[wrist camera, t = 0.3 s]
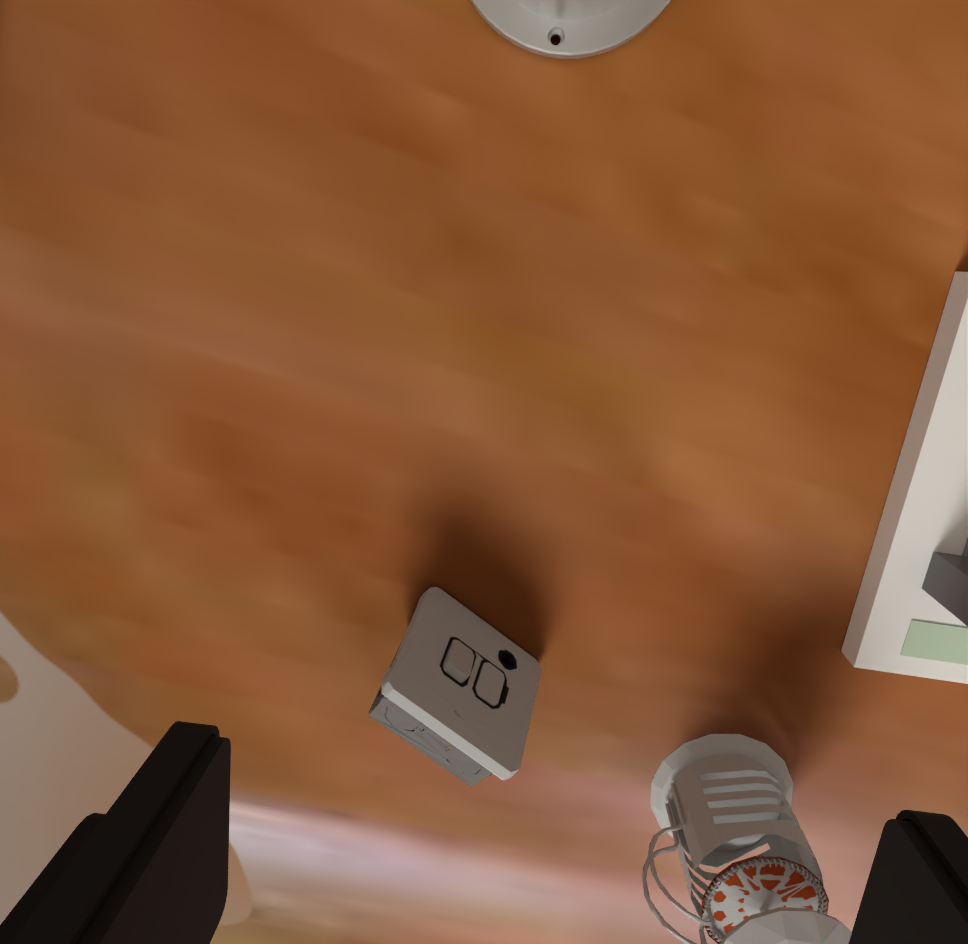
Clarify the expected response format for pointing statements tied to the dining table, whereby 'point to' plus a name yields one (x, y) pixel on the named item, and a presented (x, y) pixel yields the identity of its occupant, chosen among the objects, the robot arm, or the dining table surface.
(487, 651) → the electrical switch
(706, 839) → the french press
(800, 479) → the dining table surface
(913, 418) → the white slider control panel
